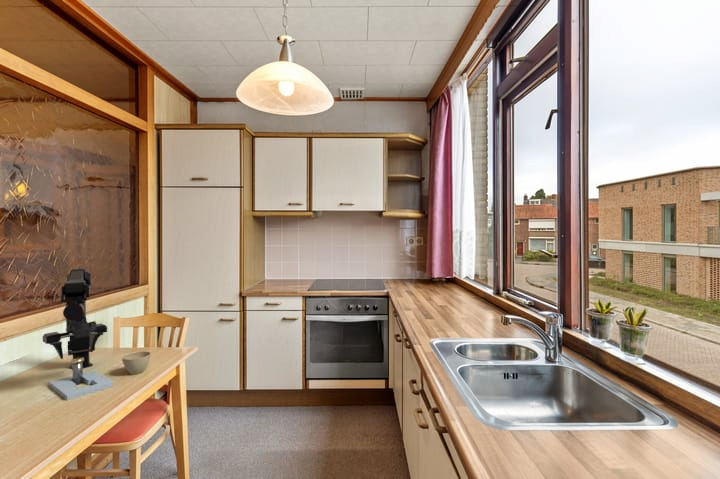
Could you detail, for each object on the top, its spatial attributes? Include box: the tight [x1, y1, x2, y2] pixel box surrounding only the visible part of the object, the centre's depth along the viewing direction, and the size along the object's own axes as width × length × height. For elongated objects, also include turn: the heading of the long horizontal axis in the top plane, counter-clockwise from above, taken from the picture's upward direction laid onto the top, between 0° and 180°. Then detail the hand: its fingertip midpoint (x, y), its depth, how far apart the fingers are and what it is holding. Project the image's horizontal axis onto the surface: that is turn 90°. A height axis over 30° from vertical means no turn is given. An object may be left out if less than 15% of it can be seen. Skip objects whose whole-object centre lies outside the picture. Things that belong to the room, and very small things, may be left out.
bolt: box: [70, 357, 84, 386], centre depth 137 cm, size 4×4×10 cm
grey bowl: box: [121, 350, 151, 375], centre depth 148 cm, size 10×10×7 cm
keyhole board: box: [49, 369, 114, 401], centre depth 135 cm, size 20×14×2 cm
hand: (76, 355), depth 137 cm, fingers open, 9 cm apart
